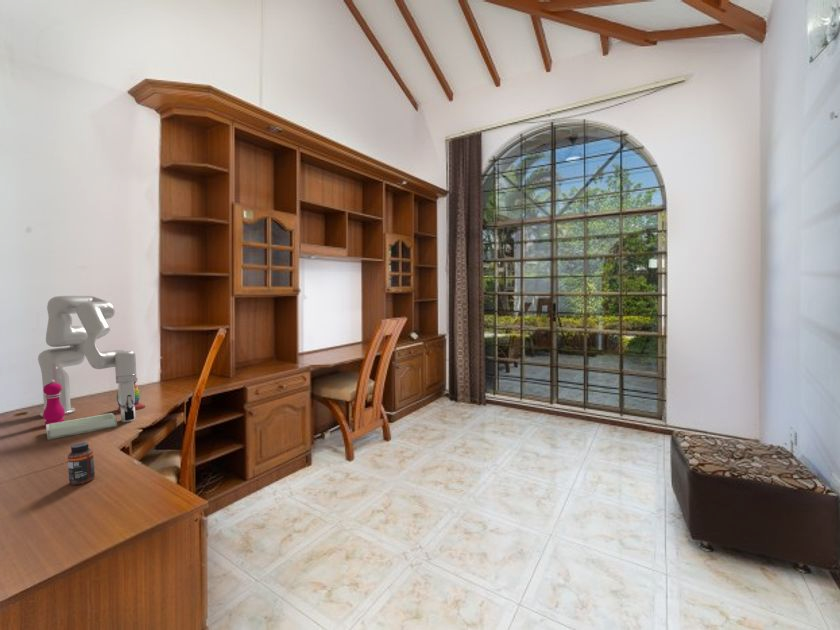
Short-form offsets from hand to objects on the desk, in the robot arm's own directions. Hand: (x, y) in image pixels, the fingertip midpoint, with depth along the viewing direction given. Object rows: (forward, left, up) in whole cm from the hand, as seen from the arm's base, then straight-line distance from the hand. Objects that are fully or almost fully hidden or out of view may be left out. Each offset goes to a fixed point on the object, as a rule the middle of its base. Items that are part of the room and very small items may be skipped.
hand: (128, 417), depth 180 cm
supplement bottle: (+64, -21, -1) cm, 67 cm away
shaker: (0, 0, -1) cm, 1 cm away
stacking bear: (-23, +4, -1) cm, 23 cm away
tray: (+1, -16, -1) cm, 16 cm away
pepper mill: (-18, -24, -1) cm, 30 cm away
